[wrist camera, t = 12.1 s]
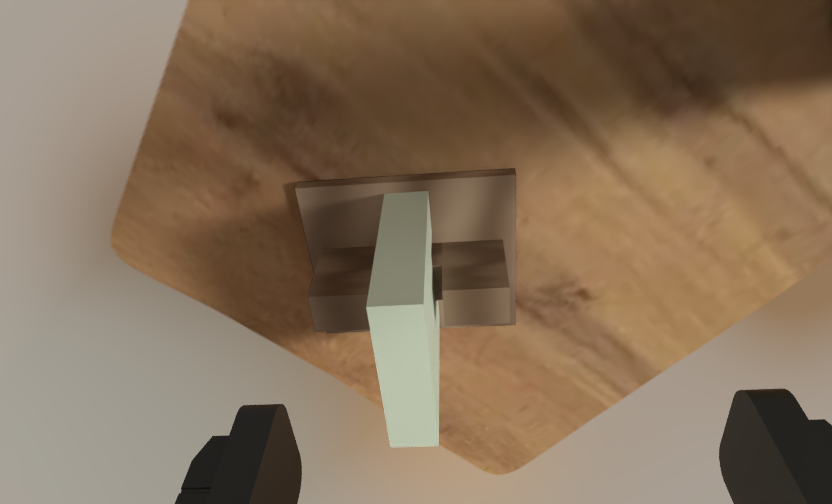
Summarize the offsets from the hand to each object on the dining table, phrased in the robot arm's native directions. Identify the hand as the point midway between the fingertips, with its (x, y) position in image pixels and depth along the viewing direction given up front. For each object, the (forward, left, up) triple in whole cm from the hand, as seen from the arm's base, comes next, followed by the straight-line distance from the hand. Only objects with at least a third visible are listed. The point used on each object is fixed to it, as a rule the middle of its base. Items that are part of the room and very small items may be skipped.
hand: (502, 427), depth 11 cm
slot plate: (-2, +19, -33) cm, 38 cm away
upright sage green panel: (-2, +19, -32) cm, 37 cm away
